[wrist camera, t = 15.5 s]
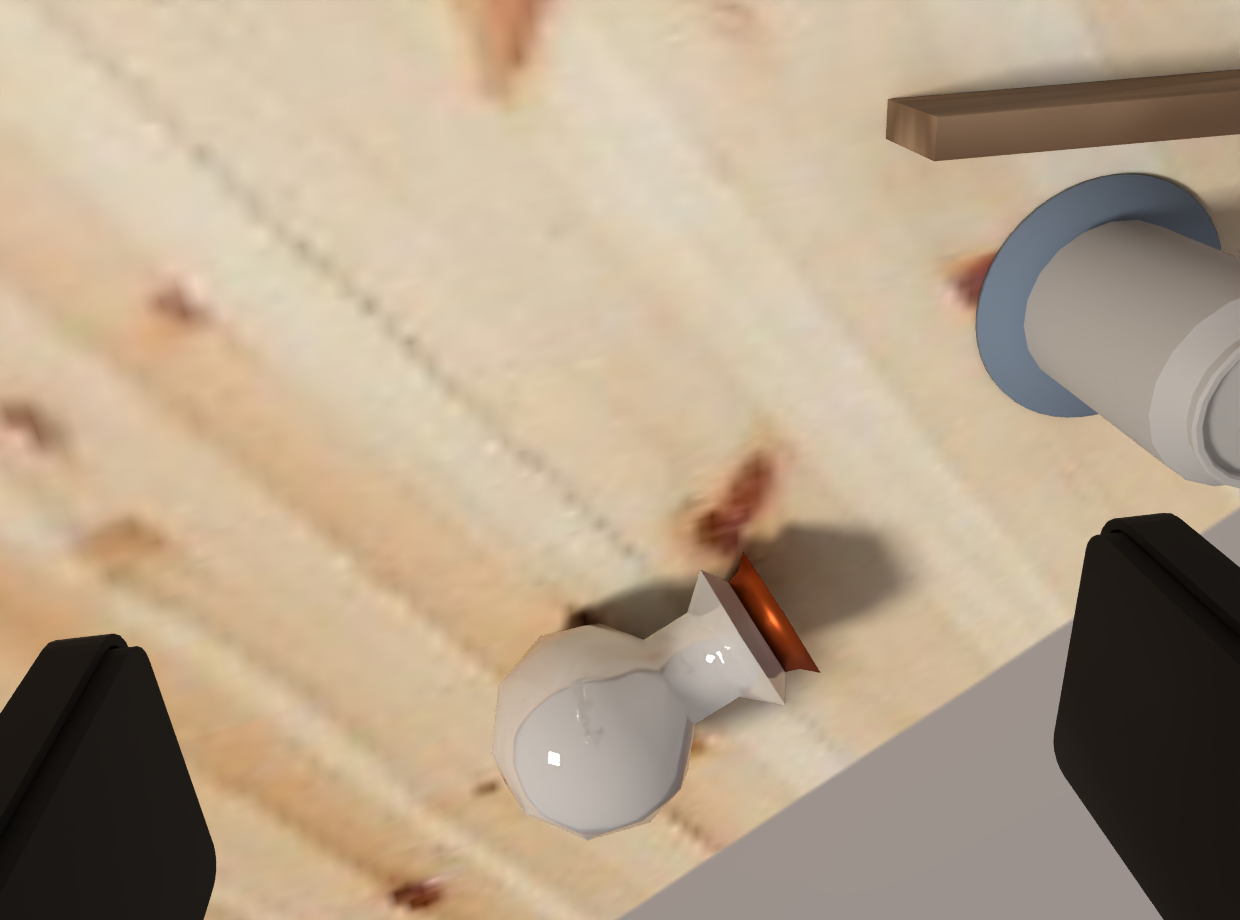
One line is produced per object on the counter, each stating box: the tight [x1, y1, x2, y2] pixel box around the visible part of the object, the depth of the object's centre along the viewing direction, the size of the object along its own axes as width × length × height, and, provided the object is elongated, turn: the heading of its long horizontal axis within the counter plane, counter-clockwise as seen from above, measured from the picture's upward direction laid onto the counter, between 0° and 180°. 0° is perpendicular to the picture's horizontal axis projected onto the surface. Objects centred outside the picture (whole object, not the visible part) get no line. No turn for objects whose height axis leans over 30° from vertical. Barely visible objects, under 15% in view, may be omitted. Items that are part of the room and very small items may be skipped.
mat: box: [976, 174, 1221, 417], centre depth 44 cm, size 11×11×1 cm
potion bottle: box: [491, 552, 820, 841], centre depth 46 cm, size 9×10×15 cm
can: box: [1024, 220, 1240, 488], centre depth 39 cm, size 8×8×12 cm
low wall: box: [886, 70, 1240, 161], centre depth 38 cm, size 2×20×5 cm, turn 93°
